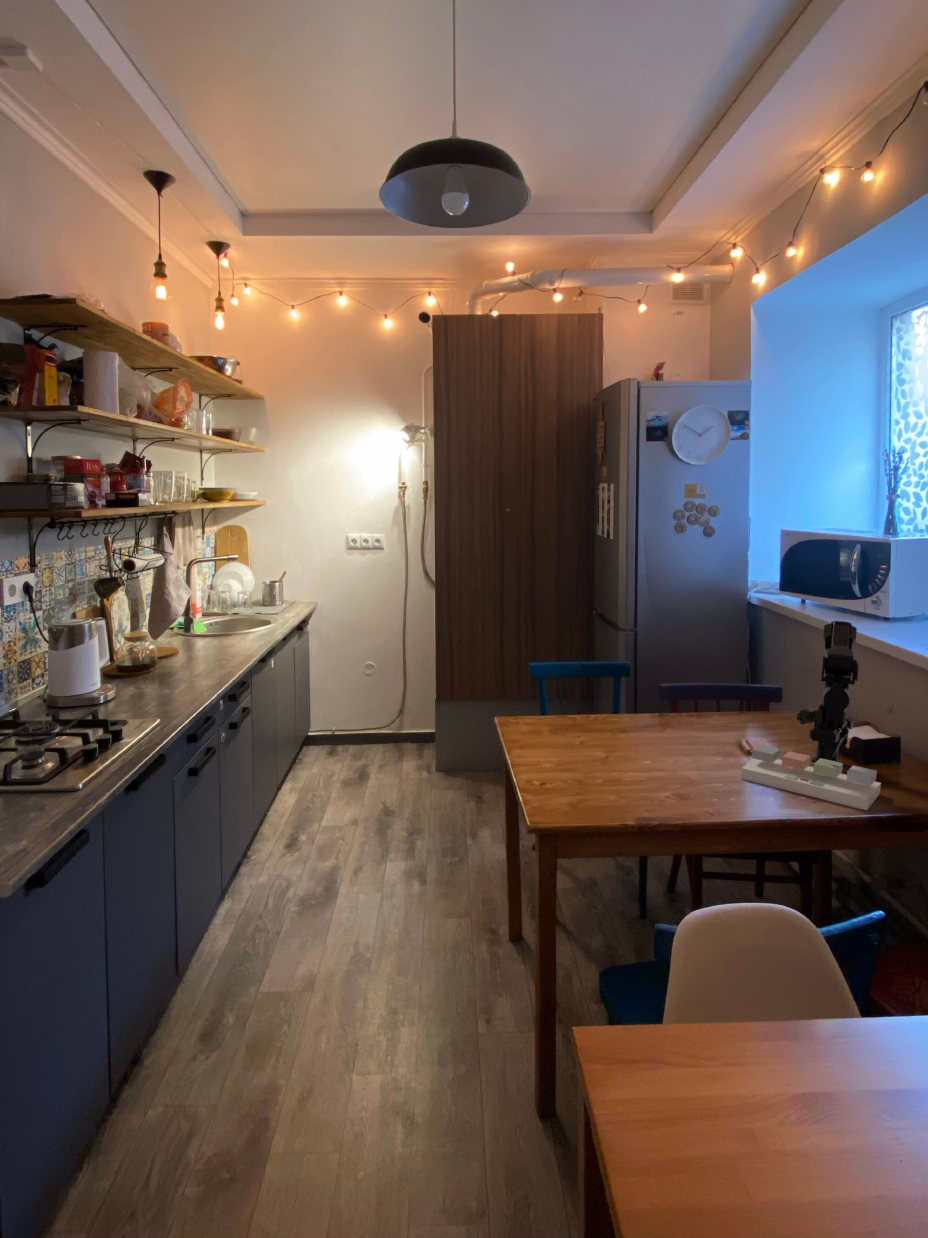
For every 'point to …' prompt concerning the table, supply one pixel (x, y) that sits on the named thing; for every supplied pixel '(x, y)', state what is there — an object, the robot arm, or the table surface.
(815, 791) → the keypad base
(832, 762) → the key sage
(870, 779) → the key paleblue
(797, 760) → the key terracotta
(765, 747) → the key slate
